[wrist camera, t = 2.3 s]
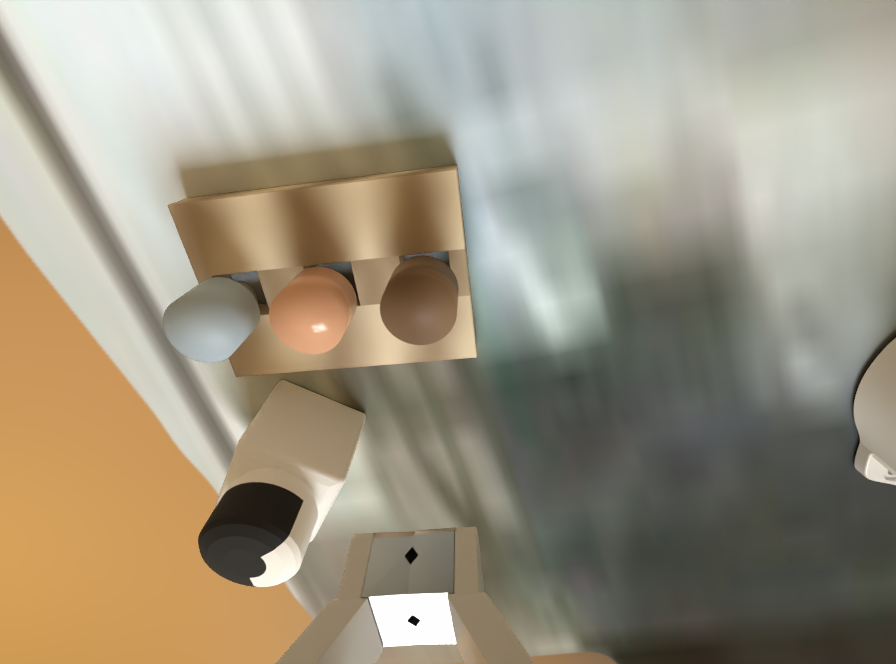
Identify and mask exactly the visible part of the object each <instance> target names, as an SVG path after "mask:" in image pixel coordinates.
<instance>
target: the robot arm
mask: <svg viewBox="0 0 896 664" xmlns="http://www.w3.org/2000/svg"><path fill="white" fill-rule="evenodd" d="M854 420H855V424H856V427H857V430H858V433H859V437H860V444H859V447H858V450H857V453H856V457H855V463H854V464H855V468H856V470H858V471H859V472H860V473H861V474H863V475H864V476H865V477H866V478H868V479H870V480H873V481H878V482H883V483H888V484H893V485H896V338H895V339H894V340H893V341H892V342H890V343H889V344H888V345H887V346H886V347H885V348H884V349H883V351H882V352H881V353H880V354H879V355H878V356H877V357H876V359H875V360H874V361H873V363H872V364H871V365H870V367H869V368H868V370H867V371H866V373H865V375H864V376H863V378H862V380H861V382H860V385H859V387H858V390H857V393H856V396H855V401H854ZM416 644H456V645H457V648H458V650H459V651H460V653H461V655H462V657H463V659H464V661H465V663H466V664H535V663H534V662H533V660H532V659H531V658H530V656H529V655H528V653H527V652H526V650H525V649H524V647H523V646H522V645H521V643H520V642H519V640H518V639H517V637H516V636H515V634H514V633H513V632H512V630H511V629H510V627H509V626H508V624H507V623H506V621H505V620H504V618H503V617H502V616H501V614H500V613H499V611H498V610H497V608H496V607H495V605H494V604H493V603H492V601H491V600H490V598H489V597H488V595H487V594H486V592H483V577H482V566H481V556H480V548H479V540H478V532H477V527H465V528H443V529H430V530H417V531H415V532H384V533H362V534H355V535H354V537H353V539H352V541H351V545H350V549H349V553H348V557H347V561H346V565H345V569H344V573H343V577H342V582H341V586H340V590H339V594H338V598H337V599H336V600H330V602H329V603H328V604H327V605H326V606H325V607H324V609H323V610H322V611H321V612H320V613H319V614H318V615H317V617H316V618H315V619H314V620H313V621H312V622H311V623H310V625H309V626H308V627H307V628H306V629H305V630H304V632H303V633H302V634H301V635H300V636H299V637H298V638H297V640H296V641H295V642H294V643H293V644H292V645H291V646H290V648H289V649H288V650H287V651H286V652H285V653H284V655H283V656H282V657H281V658H280V659H279V660H278V662H277V663H276V664H375V663H376V661H377V660H378V658H379V656H380V655H381V653H382V651H383V650H384V649H383V647H389V646H403V645H416Z"/></svg>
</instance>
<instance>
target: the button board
mask: <svg viewBox="0 0 896 664" xmlns="http://www.w3.org/2000/svg"><path fill="white" fill-rule="evenodd" d="M168 208H169V210H170V213H171V215H172V218H173V220H174V223H175V225H176V228H177V230H178V233H179V235H180V238H181V240H182V243H183V245H184V248H185V250H186V253H187V255H188V258H189V260H190V263H191V265H192V268H193V270H194V273H195V275H196V278H197V280H198V283H199V284H200V283H201V282H203V281H205V280H207V279H209V278H214V277H223V278H228V279H231V276H230V274H233V273H242V272H252V271H257V274H258V277H259V280H260V283H261V286H262V289H263V292H264V295H265V298H266V300H267V303H266V304H258V306H259V310H260V320H259V323H258V325H257V327H256V329H255V330H254V331H253V332H252V333H251V334H250V335H249V336H248V338H247V339H246V340H245V341H244V342H243V343H242V344H241V345H240V346H239V347H238V348H237V349H236V351H235V352H234V353H233V354H232V355H231V356H230V357H229V360H230V363H231V365H232V368H233V370H234V373H235V375H236V377H241V376H253V375H265V374H278V373H290V372H302V371H314V370H327V369H339V368H351V367H363V366H375V365H388V364H400V363H412V362H424V361H436V360H449V359H461V358H473V357H477V347H476V334H475V325H474V316H473V306H472V297H471V288H470V279H469V270H468V260H467V251H466V242H465V233H464V223H463V214H462V205H461V196H460V186H459V177H458V168H457V165H451V166H443V167H435V168H427V169H418V170H410V171H402V172H394V173H386V174H378V175H370V176H362V177H354V178H346V179H338V180H330V181H322V182H314V183H306V184H298V185H290V186H282V187H274V188H266V189H258V190H250V191H241V192H233V193H225V194H217V195H209V196H201V197H193V198H186V199H183V200H181V201H178V202H175V203H172V204H170V205H168ZM441 251H448V254H449V262H450V269H451V270H452V271H453V273H454V274H455V276H456V279H457V281H458V288H459V292H458V306H457V318H456V322H455V324H454V326H453V328H452V330H451V331H450V332H449V333H448V334H447V335H446V336H445V337H444V338H443V339H441V340H439V341H437V342H435V343H432V344H428V345H413V344H409V343H406V342H403V341H401V340H399V339H398V338H396V337H395V336H393V335H392V334H391V333H390V332H389V331H388V329H387V328H386V327H385V325H384V323H383V321H382V318H381V315H380V302H381V298H382V296H383V293H384V291H385V289H386V287H387V284H388V282H389V280H390V278H391V275H392V273H393V271H394V270H395V268H396V267H397V266H398V265H399V264H400V263H402V262H403V261H405V255H412V254H422V253H431V252H441ZM346 261H350V262H351V266H352V271H353V275H354V279H355V283H356V288H357V292H358V295H356V298H357V307H356V311H355V314H354V316H353V318H352V320H351V321H350V323H349V325H348V327H347V329H346V331H345V333H344V335H343V336H342V338H341V340H340V342H339V343H338V344H337V345H336V346H335V347H334V348H333V349H331V350H329V351H327V352H325V353H321V354H305V353H301V352H297V351H295V350H293V349H291V348H289V347H288V346H286V345H285V344H284V343H283V342H281V341H280V340H279V338H278V337H277V336H276V335H275V333H274V331H273V330H272V327H271V324H270V321H269V309H270V306H271V303H272V301H273V300H274V298H275V297H276V296H277V295H278V294H279V293H280V292H281V291H282V290H283V289H284V288H285V287H286V285H287V284H288V283H289V282H290V281H291V280H292V279H293V278H294V277H295V276H296V275H297V274H298V273H300V272H301V271H303V270H305V269H307V268H311V267H316V265H318V264H327V263H337V262H346ZM231 280H232V279H231Z"/></svg>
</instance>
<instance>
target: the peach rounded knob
mask: <svg viewBox="0 0 896 664" xmlns="http://www.w3.org/2000/svg"><path fill="white" fill-rule="evenodd" d="M356 307H357V298H356V294H355V291H354V289H353V287H352V285H351V284H350V282H349V281H348V280H347V279H346V278H345V277H344V276H343V275H341V274H340V273H338V272H337V271H334V270H332V269H329V268H325V267H311V268H307V269H305V270H303V271H301V272H300V273H298V274H297V275H296V276H295V277H294V278H293V279H292V280H291V281H290V282H289V283H288V284H287V285H286V287H285V288H284V289H283V290H282V291H281V292H280V293H279V294H278V295H277V296H276V297H275V298H274V300H273V301H272V303H271V306H270V309H269V321H270V324H271V327H272V330H273V331H274V333H275V335H276V336H277V337H278V338H279V340H280V341H281V342H283V343H284V344H285V345H286V346H288V347H289V348H291V349H293V350H295V351H297V352H301V353H305V354H321V353H325V352H327V351H329V350H331V349H333V348H334V347H335V346H336V345H337V344H338V343H339V342H340V340H341V338H342V336H343V335H344V333H345V331H346V329H347V327H348V325H349V323H350V321H351V320H352V318H353V316H354V314H355V311H356Z"/></svg>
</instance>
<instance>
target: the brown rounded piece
mask: <svg viewBox="0 0 896 664" xmlns="http://www.w3.org/2000/svg"><path fill="white" fill-rule="evenodd" d="M458 292H459V288H458V281H457V279H456V276H455V274H454V273H453V271H452V270H451V269H450V267H449V266H448V265H446V264H445V263H444V262H442V261H441V260H439V259H436V258H434V257H429V256H415V257H411V258H409V259H406V260H405V261H403V262H402V263H400V264H399V265H398V266H397V267H396V268H395V270H394V271H393V273H392V275H391V278H390V280H389V282H388V284H387V287H386V289H385V291H384V293H383V296H382V298H381V302H380V315H381V318H382V321H383V323H384V325H385V327H386V328H387V329H388V331H389V332H390V333H391V334H392V335H393V336H395V337H396V338H398V339H399V340H401V341H403V342H406V343H409V344H413V345H428V344H432V343H435V342H437V341H439V340H441V339H443V338H444V337H445V336H446V335H447V334H448V333H449V332H450V331H451V330H452V328H453V326H454V324H455V322H456V318H457V306H458Z"/></svg>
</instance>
